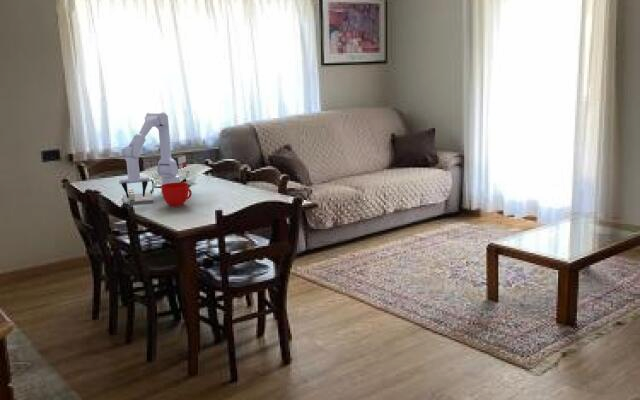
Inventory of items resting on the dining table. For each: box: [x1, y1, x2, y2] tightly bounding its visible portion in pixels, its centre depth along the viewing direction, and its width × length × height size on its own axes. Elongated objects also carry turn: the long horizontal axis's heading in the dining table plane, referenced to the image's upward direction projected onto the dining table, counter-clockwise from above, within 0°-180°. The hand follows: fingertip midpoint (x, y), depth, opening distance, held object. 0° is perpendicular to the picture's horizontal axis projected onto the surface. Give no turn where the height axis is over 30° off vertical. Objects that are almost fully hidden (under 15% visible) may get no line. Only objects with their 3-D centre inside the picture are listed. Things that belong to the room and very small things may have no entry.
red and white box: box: [171, 154, 188, 169], centre depth 355 cm, size 11×4×15 cm, turn 168°
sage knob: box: [128, 192, 136, 200], centre depth 301 cm, size 2×2×3 cm
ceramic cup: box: [160, 182, 192, 208], centre depth 294 cm, size 13×17×10 cm
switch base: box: [122, 192, 155, 206], centre depth 309 cm, size 14×19×2 cm
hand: (135, 196), depth 302 cm, fingers open, 7 cm apart
